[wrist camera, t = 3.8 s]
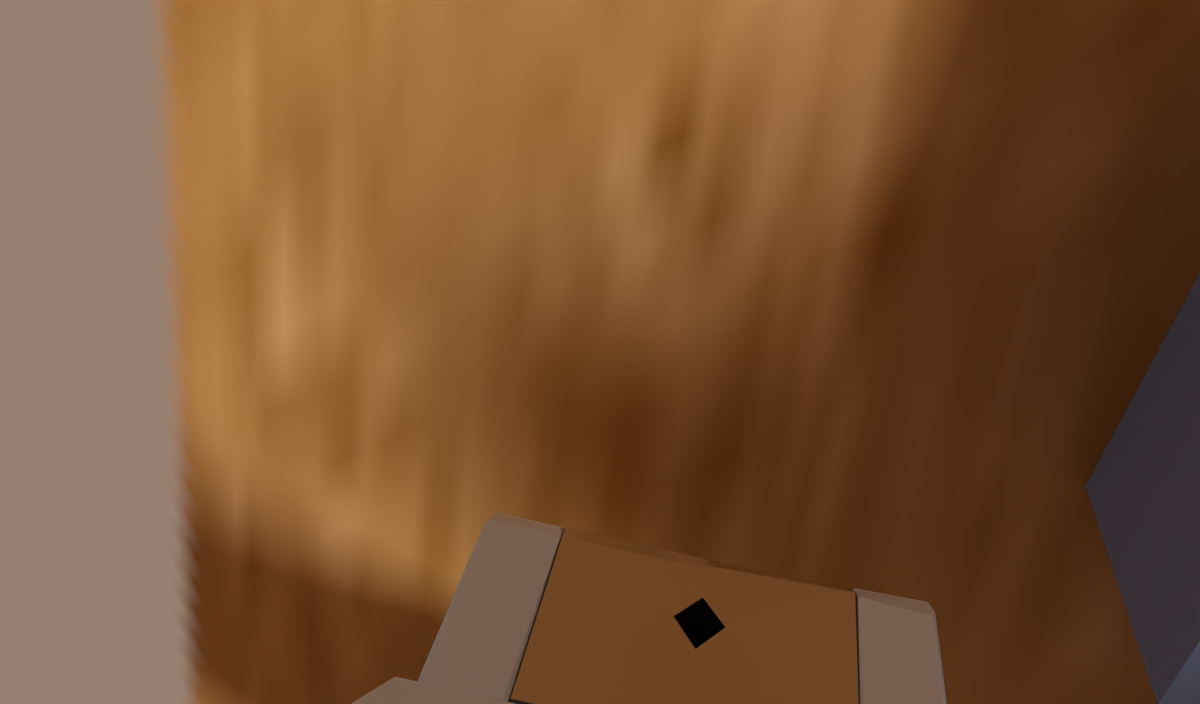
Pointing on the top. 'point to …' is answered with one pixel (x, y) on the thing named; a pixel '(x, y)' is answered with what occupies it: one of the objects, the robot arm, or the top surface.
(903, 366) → the top surface
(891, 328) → the top surface
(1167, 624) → the navy carton
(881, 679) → the robot arm
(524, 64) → the top surface
